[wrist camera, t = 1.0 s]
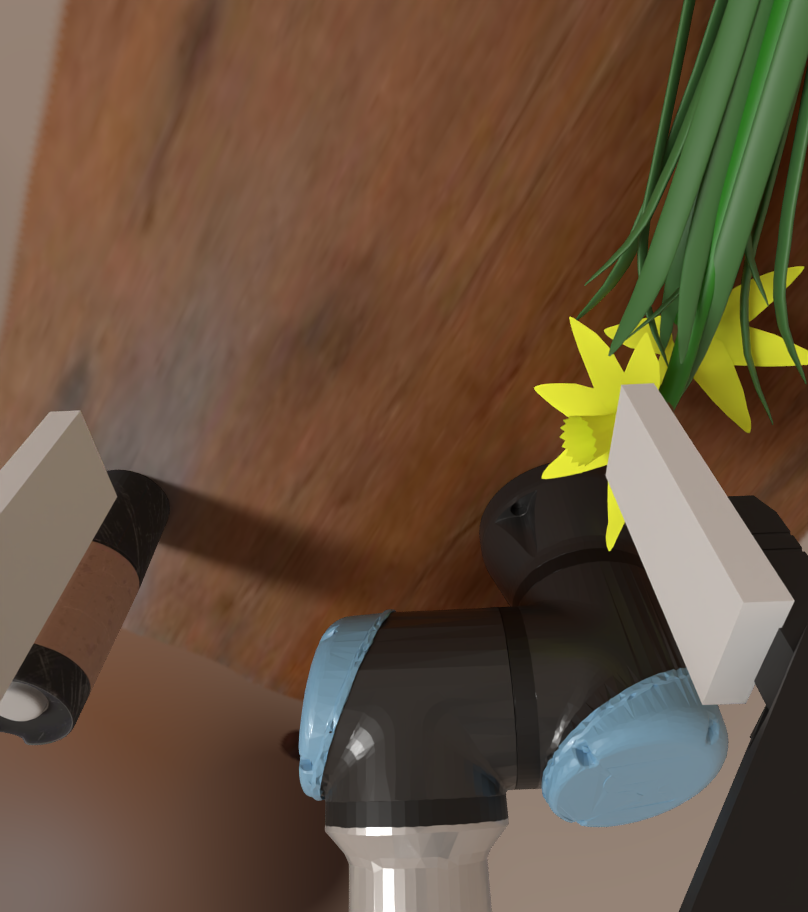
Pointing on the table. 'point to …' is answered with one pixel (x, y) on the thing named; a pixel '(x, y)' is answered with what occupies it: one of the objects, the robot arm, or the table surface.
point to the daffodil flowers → (702, 235)
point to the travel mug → (86, 616)
